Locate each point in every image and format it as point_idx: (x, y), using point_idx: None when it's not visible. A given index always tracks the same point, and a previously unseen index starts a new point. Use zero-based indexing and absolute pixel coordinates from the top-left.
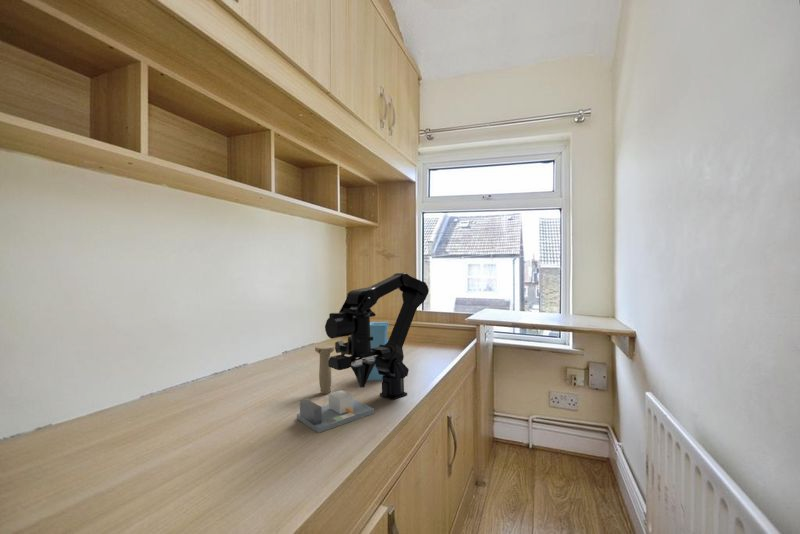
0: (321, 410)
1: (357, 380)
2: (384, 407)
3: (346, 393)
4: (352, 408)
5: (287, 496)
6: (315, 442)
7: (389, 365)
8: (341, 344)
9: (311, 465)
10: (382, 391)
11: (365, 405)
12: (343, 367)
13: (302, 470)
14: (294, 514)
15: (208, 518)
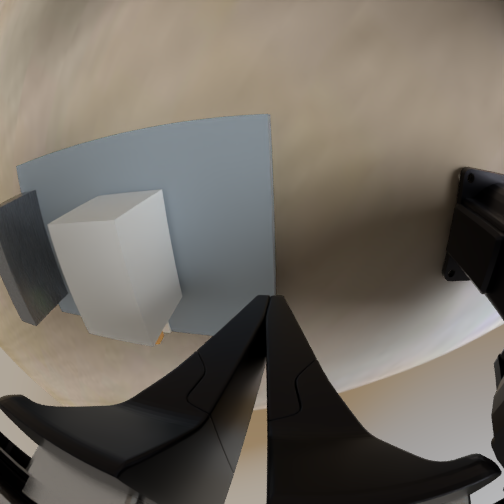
0: (43, 317)
1: (225, 325)
2: (352, 312)
3: (129, 303)
4: (177, 300)
5: (54, 386)
6: (66, 330)
7: (494, 448)
8: None
9: (68, 373)
10: (463, 220)
11: (266, 289)
12: (26, 466)
13: (59, 370)
14: (65, 403)
15: (7, 351)
